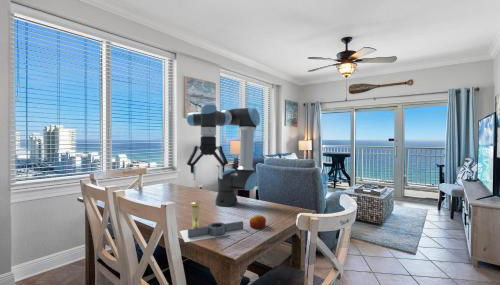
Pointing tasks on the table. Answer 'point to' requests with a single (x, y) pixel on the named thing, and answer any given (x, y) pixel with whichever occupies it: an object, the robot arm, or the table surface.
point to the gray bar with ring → (215, 229)
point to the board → (186, 239)
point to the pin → (195, 214)
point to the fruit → (257, 222)
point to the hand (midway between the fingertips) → (207, 179)
